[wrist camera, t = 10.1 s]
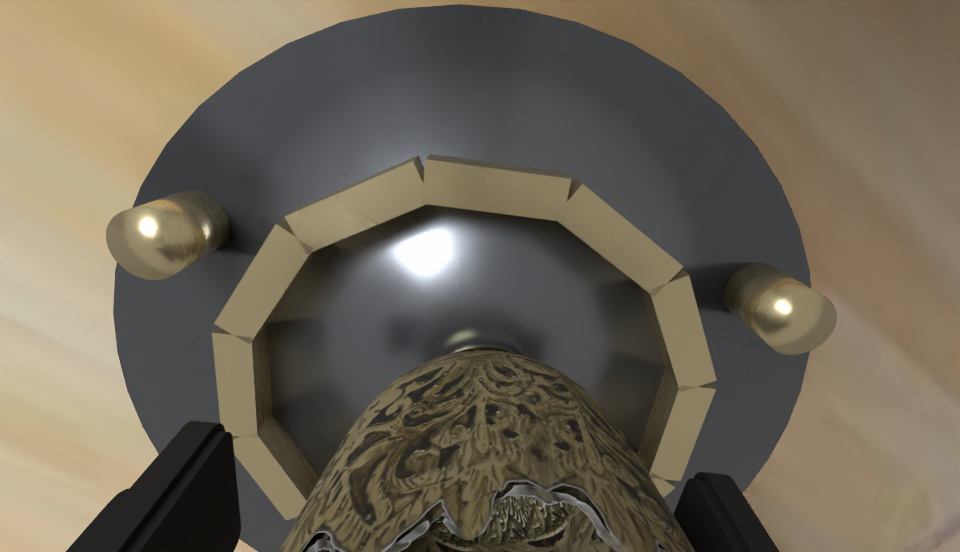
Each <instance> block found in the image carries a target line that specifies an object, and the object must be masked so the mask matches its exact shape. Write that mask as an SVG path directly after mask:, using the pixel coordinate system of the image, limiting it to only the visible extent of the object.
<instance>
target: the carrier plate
mask: <svg viewBox="0 0 960 552" xmlns="http://www.w3.org/2000/svg"><path fill="white" fill-rule="evenodd" d="M106 240H107V245H108V248H109V250H110V252H111V254H112V256H113V257H114V259H115V260H116V261H117V266H116V270H115V290H114V311H113V313H114V323H115V332H116V341H117V350H118V356H119V360H120V363H121V367H122V371H123V375H124V379H125V382H126V386H127V390H128V393H129V395H130V398H131V400H132V402H133V405H134V407H135V409H136V412H137V414H138V417H139V419H140V421H141V424H142V426H143V428H144V430H145V431H146V433H147V435H148V436H149V438H150V440H151V442H152V443H153V445H154V447H155V448H156V450H157V452H158V454H160V453H161V452H162V451H163V449H164V448H165V447H166V446H167V445H168V444H169V442H170V441H171V440H172V439H173V438H174V437H175V435H176V434H177V433H178V432H179V431H180V430H181V428H182V427H183V426H184V425H185V424H186V423H187V422H189V421H201V422H211V423H220V424H223V426H224V428H225V432H231V434H232V437H233V446H234V457H235V467H236V477H237V488H238V498H239V508H240V519H241V533H240V537H239V539H240V540H242V541H243V542H245V543H246V544H248V545H249V546H251V547H252V548H254V549H255V550H257V551H258V552H278V551H279V549H280V547H281V546H282V544H283V542H284V540H285V539H286V537H287V535H288V533H289V531H290V530H291V528H292V526H293V524H294V523H295V521H296V519H297V517H298V516H299V514H300V512H301V510H302V509H303V507H304V505H305V503H306V502H307V500H308V498H309V496H310V495H311V493H312V491H313V490H314V488H315V486H316V484H317V483H318V481H319V479H320V478H321V476H322V474H323V472H324V471H325V469H326V467H327V466H328V464H329V462H330V461H331V459H332V457H333V456H334V454H335V453H336V451H337V449H338V448H339V446H340V445H341V443H342V442H343V440H344V438H345V437H346V435H347V434H348V432H349V431H350V429H351V428H352V427H353V425H354V424H355V422H356V421H357V420H358V418H359V417H360V415H361V414H362V413H363V412H364V411H365V410H366V408H367V407H368V406H369V405H370V404H371V403H372V402H373V400H374V399H375V398H376V397H377V396H378V395H379V394H380V393H381V392H382V391H383V390H384V389H385V388H386V387H388V386H389V385H390V384H391V383H393V382H394V381H395V380H397V379H398V378H400V377H401V376H403V375H404V374H405V373H407V372H408V371H410V370H412V369H414V368H415V367H417V366H419V365H421V364H423V363H426V362H428V361H430V360H433V359H436V358H439V357H442V356H445V355H446V354H448V353H450V352H451V351H453V350H455V349H458V348H460V347H463V346H466V345H471V344H479V343H488V344H496V345H500V346H504V347H507V348H509V349H512V350H514V351H515V352H517V353H519V354H520V355H523V356H527V357H530V358H533V359H536V360H538V361H541V362H543V363H546V364H548V365H550V366H551V367H553V368H555V369H557V370H559V371H560V372H562V373H563V374H565V375H567V376H568V377H569V378H571V379H572V380H574V381H575V382H576V383H578V384H579V385H580V386H581V387H582V388H584V389H585V390H586V391H587V392H588V393H589V394H590V395H591V396H592V397H593V398H594V399H595V400H596V401H597V402H598V403H599V405H600V406H601V407H602V408H603V409H604V410H605V411H606V413H607V414H608V415H609V416H610V418H611V419H612V420H613V422H614V423H615V424H616V426H617V427H618V428H619V430H620V431H621V432H622V434H623V435H624V437H625V439H626V440H627V442H628V443H629V445H630V446H631V448H632V449H633V451H634V452H635V454H636V455H637V457H638V458H639V460H640V461H641V463H642V465H643V466H644V468H645V469H646V471H647V473H648V474H649V476H650V478H651V479H652V481H653V482H654V484H655V486H656V487H657V489H658V490H659V492H660V494H661V495H662V497H663V499H664V500H665V502H666V504H667V505H668V507H669V508H670V510H671V512H672V513H673V514H674V511H675V509H676V506H677V504H678V501H679V499H680V496H681V494H682V492H683V489H684V487H685V484H686V482H687V480H688V479H690V478H694V476H695V474H696V473H698V472H707V473H717V474H727V475H728V476H730V477H731V478H732V479H733V480H734V482H735V483H736V485H737V486H738V488H739V489H740V491H741V493H743V491H744V490H745V489H746V488H747V487H748V486H749V484H750V483H751V482H752V480H753V479H754V478H755V476H756V475H757V473H758V472H759V471H760V469H761V468H762V467H763V465H764V464H765V463H766V461H767V460H768V458H769V457H770V455H771V453H772V451H773V450H774V448H775V446H776V444H777V442H778V441H779V439H780V437H781V435H782V433H783V432H784V430H785V428H786V426H787V424H788V421H789V419H790V416H791V414H792V411H793V408H794V406H795V403H796V401H797V398H798V396H799V393H800V390H801V386H802V382H803V378H804V373H805V369H806V365H807V360H808V356H809V351H810V350H812V349H814V348H816V347H818V346H819V345H820V344H822V343H823V342H824V341H825V340H826V339H827V338H828V337H829V335H830V334H831V332H832V331H833V329H834V326H835V323H836V310H835V307H834V305H833V303H832V302H831V301H830V300H829V299H828V298H826V297H825V296H823V295H821V294H819V293H818V292H816V291H814V290H813V289H811V285H810V272H809V267H808V263H807V259H806V254H805V250H804V246H803V242H802V238H801V234H800V230H799V227H798V224H797V222H796V219H795V217H794V215H793V212H792V210H791V208H790V205H789V203H788V200H787V198H786V196H785V193H784V191H783V189H782V186H781V184H780V183H779V181H778V180H777V178H776V177H775V175H774V173H773V172H772V170H771V169H770V167H769V165H768V164H767V162H766V161H765V159H764V158H763V156H762V154H761V153H760V151H759V150H758V148H757V146H756V145H755V144H754V142H753V141H752V140H751V139H750V138H749V137H748V136H747V135H746V133H745V132H744V131H743V130H742V129H741V128H740V127H739V126H738V124H737V123H736V122H735V121H734V120H733V119H732V118H731V116H730V115H729V114H728V113H727V112H726V111H725V110H724V109H723V107H722V106H720V105H719V104H718V103H717V102H716V101H714V100H713V99H712V98H711V97H710V96H708V95H707V94H706V93H705V92H703V91H702V90H701V89H700V88H699V87H697V86H696V85H695V84H694V83H692V82H691V81H690V80H689V79H688V78H686V77H685V76H684V75H683V74H681V73H680V72H679V71H677V70H675V69H674V68H672V67H670V66H668V65H667V64H665V63H663V62H662V61H660V60H658V59H657V58H655V57H653V56H651V55H650V54H648V53H646V52H645V51H643V50H641V49H639V48H638V47H636V46H634V45H633V44H631V43H628V42H626V41H623V40H621V39H618V38H616V37H613V36H610V35H608V34H605V33H603V32H600V31H598V30H595V29H593V28H590V27H588V26H585V25H583V24H580V23H578V22H573V21H569V20H565V19H560V18H556V17H552V16H547V15H543V14H539V13H534V12H530V11H526V10H521V9H512V8H499V7H486V6H473V5H446V6H432V7H419V8H405V9H397V10H392V11H388V12H384V13H379V14H375V15H371V16H366V17H362V18H358V19H353V20H349V21H344V22H341V23H338V24H336V25H333V26H331V27H328V28H326V29H323V30H321V31H318V32H316V33H313V34H311V35H308V36H306V37H303V38H300V39H298V40H295V41H293V42H290V43H288V44H286V45H284V46H283V47H281V48H279V49H278V50H276V51H274V52H273V53H271V54H269V55H268V56H266V57H264V58H263V59H261V60H259V61H258V62H256V63H254V64H253V65H251V66H249V67H247V68H246V69H244V70H242V71H241V72H239V73H238V74H237V75H236V76H235V77H233V78H232V79H231V80H230V81H229V82H227V83H226V84H225V85H224V86H223V87H221V88H220V89H219V90H218V91H217V92H215V93H214V94H213V95H212V96H211V97H209V98H208V99H207V100H206V101H205V102H203V103H202V104H201V105H200V106H199V107H198V108H197V109H196V110H195V112H194V113H193V114H192V115H191V116H190V117H189V118H188V120H187V121H186V122H185V123H184V124H183V125H182V127H181V128H180V129H179V130H178V131H177V132H176V134H175V135H174V136H173V137H172V138H171V139H170V141H169V142H168V143H167V144H166V146H165V147H164V149H163V151H162V152H161V154H160V156H159V157H158V159H157V161H156V162H155V164H154V165H153V167H152V169H151V170H150V172H149V174H148V175H147V177H146V179H145V180H144V182H143V184H142V185H141V188H140V190H139V193H138V195H137V198H136V200H135V203H134V205H133V208H131V209H128V210H125V211H123V212H120V213H118V214H117V215H116V216H114V217H113V218H112V220H111V221H110V223H109V224H108V227H107V231H106Z"/></svg>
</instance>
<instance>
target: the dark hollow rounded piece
mask: <svg viewBox="0 0 960 552" xmlns="http://www.w3.org/2000/svg"><path fill="white" fill-rule="evenodd" d="M278 552H695V550H694V548H693V547H692V545H691V543H690V542H689V540H688V538H687V537H686V535H685V533H684V532H683V530H682V528H681V527H680V525H679V523H678V522H677V520H676V518H675V517H674V515H673V513H672V512H671V510H670V508H669V507H668V505H667V504H666V502H665V500H664V499H663V497H662V495H661V494H660V492H659V490H658V489H657V487H656V486H655V484H654V482H653V481H652V479H651V478H650V476H649V474H648V473H647V471H646V469H645V468H644V466H643V465H642V463H641V461H640V460H639V458H638V457H637V455H636V454H635V452H634V451H633V449H632V448H631V446H630V445H629V443H628V442H627V440H626V439H625V437H624V435H623V434H622V432H621V431H620V430H619V428H618V427H617V426H616V424H615V423H614V422H613V420H612V419H611V418H610V416H609V415H608V414H607V413H606V411H605V410H604V409H603V408H602V407H601V406H600V405H599V403H598V402H597V401H596V400H595V399H594V398H593V397H592V396H591V395H590V394H589V393H588V392H587V391H586V390H585V389H584V388H582V387H581V386H580V385H579V384H578V383H576V382H575V381H574V380H572V379H571V378H569V377H568V376H567V375H565V374H563V373H562V372H560V371H559V370H557V369H555V368H553V367H551V366H550V365H548V364H546V363H543V362H541V361H538V360H536V359H533V358H530V357H527V356H523V355H520V354H519V353H517V352H515V351H514V350H512V349H509V348H507V347H504V346H500V345H496V344H488V343H479V344H471V345H466V346H463V347H460V348H458V349H455V350H453V351H451V352H450V353H448V354H446V355H445V356H442V357H439V358H436V359H433V360H430V361H428V362H426V363H423V364H421V365H419V366H417V367H415V368H414V369H412V370H410V371H408V372H407V373H405V374H404V375H403V376H401V377H400V378H398V379H397V380H395V381H394V382H393V383H391V384H390V385H389V386H388V387H386V388H385V389H384V390H383V391H382V392H381V393H380V394H379V395H378V396H377V397H376V398H375V399H374V400H373V402H372V403H371V404H370V405H369V406H368V407H367V408H366V410H365V411H364V412H363V413H362V414H361V415H360V417H359V418H358V420H357V421H356V422H355V424H354V425H353V427H352V428H351V429H350V431H349V432H348V434H347V435H346V437H345V438H344V440H343V442H342V443H341V445H340V446H339V448H338V449H337V451H336V453H335V454H334V456H333V457H332V459H331V461H330V462H329V464H328V466H327V467H326V469H325V471H324V472H323V474H322V476H321V478H320V479H319V481H318V483H317V484H316V486H315V488H314V490H313V491H312V493H311V495H310V496H309V498H308V500H307V502H306V503H305V505H304V507H303V509H302V510H301V512H300V514H299V516H298V517H297V519H296V521H295V523H294V524H293V526H292V528H291V530H290V531H289V533H288V535H287V537H286V539H285V540H284V542H283V544H282V546H281V547H280V549H279V551H278Z"/></svg>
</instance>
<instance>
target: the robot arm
mask: <svg viewBox="0 0 960 552" xmlns="http://www.w3.org/2000/svg"><path fill="white" fill-rule="evenodd" d="M673 515H674V517H675V518H676V520H677V522H678V523H679V525H680V527H681V528H682V530H683V532H684V533H685V535H686V537H687V538H688V540H689V542H690V543H691V545H692V547H693V548H694V550H695V552H779V550H778V549H777V547H776V546H775V544H774V542H773V541H772V539H771V538H770V536H769V535H768V533H767V532H766V530H765V528H764V527H763V525H762V524H761V522H760V521H759V519H758V517H757V516H756V514H755V513H754V511H753V510H752V508H751V507H750V505H749V503H748V502H747V500H746V499H745V497H744V496H743V494H742V493H741V491H740V489H739V488H738V486H737V485H736V483H735V482H734V480H733V479H732V478H731V477H730V476H728V475H727V474H717V473H707V472H698V473H696V474H695V476H694V478H690V479H688V480H687V482H686V484H685V487H684V489H683V492H682V494H681V496H680V499H679V501H678V504H677V506H676V509H675V511H674V514H673ZM240 533H241V519H240V508H239V498H238V488H237V477H236V467H235V457H234V446H233V437H232V434H231V432H225V428H224V426H223V424H220V423H211V422H201V421H189V422H187V423H186V424H185V425H184V426H183V427H182V428H181V430H180V431H179V432H178V433H177V434H176V435H175V437H174V438H173V439H172V440H171V441H170V442H169V444H168V445H167V446H166V447H165V448H164V449H163V451H162V452H161V453H160V454H159V455H158V456H157V458H156V459H155V460H154V461H153V462H152V463H151V464H150V466H149V467H148V468H147V469H146V470H145V471H144V473H143V474H142V475H141V476H140V477H139V478H138V480H137V481H136V482H135V483H134V484H133V485H132V487H131V488H130V489H126V490H124V491H122V492H120V493H118V494H117V495H116V496H115V497H114V498H113V499H112V500H111V501H110V502H109V503H108V504H107V505H106V507H105V508H104V509H103V510H102V511H101V512H100V513H99V515H98V516H97V517H96V518H95V519H94V520H93V521H92V523H91V524H90V525H89V526H88V527H87V528H86V529H85V530H84V532H83V533H82V534H81V535H80V536H79V537H78V538H77V540H76V541H75V542H74V543H73V544H72V545H71V546H70V547H69V549H68V550H67V551H66V552H233V551H234V549H235V547H236V545H237V543H238V540H239V537H240Z"/></svg>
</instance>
